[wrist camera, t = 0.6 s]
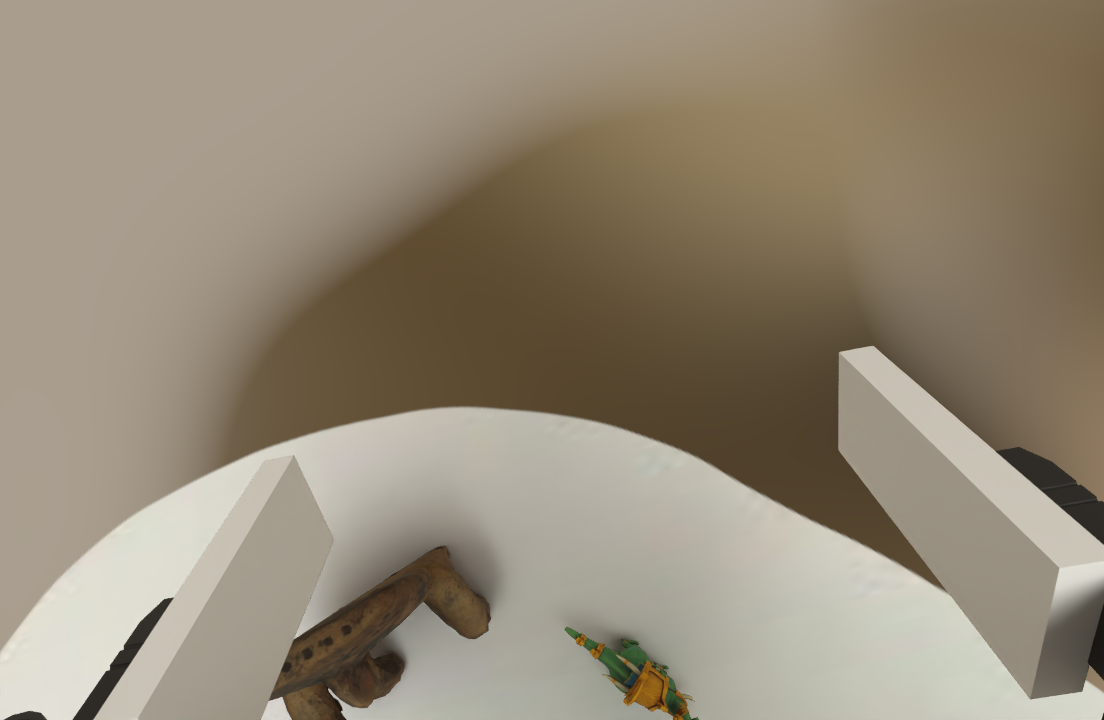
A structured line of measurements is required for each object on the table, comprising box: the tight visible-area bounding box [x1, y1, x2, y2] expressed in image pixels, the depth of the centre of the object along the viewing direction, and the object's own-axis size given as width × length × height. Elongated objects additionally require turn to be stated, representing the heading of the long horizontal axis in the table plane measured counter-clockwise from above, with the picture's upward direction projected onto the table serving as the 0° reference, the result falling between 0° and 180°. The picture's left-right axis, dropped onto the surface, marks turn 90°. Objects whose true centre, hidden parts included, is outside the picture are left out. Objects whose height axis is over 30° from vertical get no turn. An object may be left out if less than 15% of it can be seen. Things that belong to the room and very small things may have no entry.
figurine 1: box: [269, 546, 491, 720], centre depth 39 cm, size 13×8×20 cm, turn 129°
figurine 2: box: [565, 627, 699, 720], centre depth 44 cm, size 3×12×8 cm, turn 55°
